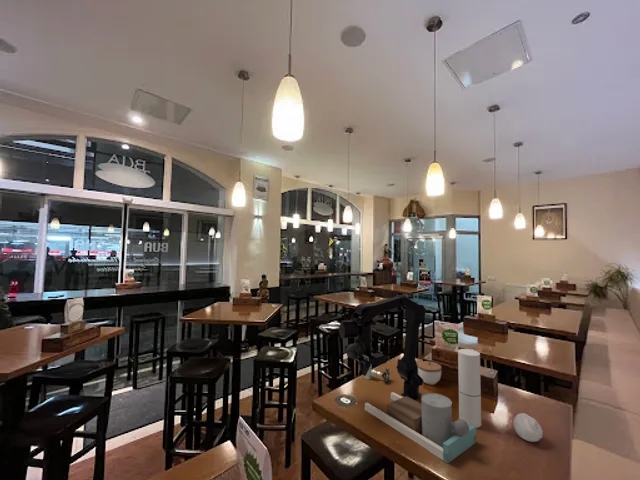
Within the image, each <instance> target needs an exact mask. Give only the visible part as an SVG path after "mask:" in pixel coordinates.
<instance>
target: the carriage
mask: <svg viewBox="0 0 640 480" xmlns="http://www.w3.org/2000/svg"><path fill="white" fill-rule="evenodd" d="M386 414H387V415H389V416H391V417H392V418H394V419H396V420H397V421H399V422H400V423H402V424H404V425H405V426H407V427H409V428H410V429H412V430H414V431H415V432H417V433H419V434H420V432H421V433H422V402H419V401H417V400H413V399H411V398H409V397H407V396H405V397H404V396H402V398H400V399H398V400H396V401H394V400H393V401H392V402H389V403H387V404H386Z"/></svg>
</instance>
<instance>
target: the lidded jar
mask: <svg viewBox="0 0 640 480" xmlns="http://www.w3.org/2000/svg"><path fill="white" fill-rule="evenodd" d="M417 366H418V375H419V376H420V377H421V378H422V379H423V383H424V384H426V385H437V383H438V382H439V381H440V380H441V376H442V365H440V364H439V363H436V362H434V361H427V360H424V361H422V360H421V361H419V362H417Z"/></svg>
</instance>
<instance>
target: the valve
mask: <svg viewBox="0 0 640 480" xmlns="http://www.w3.org/2000/svg"><path fill="white" fill-rule="evenodd" d="M372 368H373V364H371V366H370V368H369V370H368V372H367V374H366V376H364V375H363V376H364V379H365V380H372V379H373V377H376V376H379V377H382V378H383V383H388V382H389V380H390V374H391V373H390V368H385V371H384V372H381V371H377V369H376V368H375V369H372Z"/></svg>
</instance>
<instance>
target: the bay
mask: <svg viewBox="0 0 640 480" xmlns="http://www.w3.org/2000/svg"><path fill="white" fill-rule="evenodd" d="M402 397H403V396H402V395H401V394H397V393H395V392H394V391H393V392H391V393H390V399H391V400H393V401H396V400H398V399H400V398H402ZM364 410H365V411H366V412H367V413H369V414H371V415H372V416H374V417H375V418H377V419H379V420H380V421H381V422H383V423H385V424H386V425H388V426H390V427H391V428H393V429H395V430H396V431H397V432H399V433H401V434H402V435H403V436H405V437H406V438H408V439H410V440H412V441H413V442H415V443H416V444H418V445H419V446H421V447H422V448H425V450H427V452H429V453H430V454H432V455H434V456H436V457H437V458H439V459H440V460H442V461H443V462H445V463H446V464H450V463H451V462H452V461H453V460H454V459H456V458H457V457H459V456H460V455H462V454H463V453H464V452H466V451H467V450H469V448H471V447H472V446H473V445H475V444H476V443H477V428H476V426H474V425H472V424H471V425H469V426H468V424H467V423H466V422H465V421H464V420H462V419H459V418H458V419H456V420H455V421H452V425H451V427H452V433H453V434H454V435H452V437H451V438H450V439H448V440H447V441H445V442H444V443H443V447H440V446H439V445H437V444H435V443H434V442H432V441H430V440H429V439H427V438H425V437H424V436H422V434H420V432H419V433H417V432H415V431H414V430H412V429H410V428H409V427H407V426H405V425H404V424H402V423H400V422H399V421H397V420H396V419H394V418H392V417H391V416H389V415H387V412H384V411H383V410H381V409H379V408H377V407H375V406H373V405H372V404H371V403H369V402H365V403H364Z"/></svg>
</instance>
